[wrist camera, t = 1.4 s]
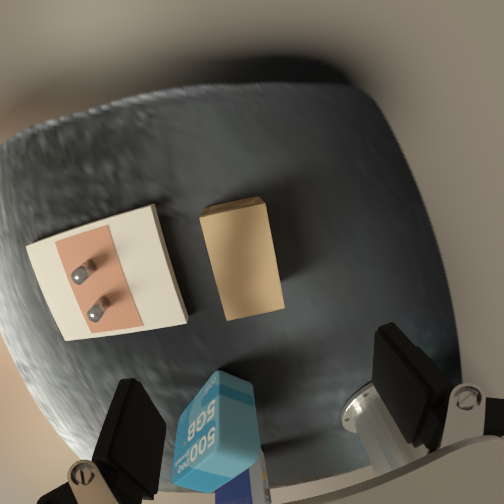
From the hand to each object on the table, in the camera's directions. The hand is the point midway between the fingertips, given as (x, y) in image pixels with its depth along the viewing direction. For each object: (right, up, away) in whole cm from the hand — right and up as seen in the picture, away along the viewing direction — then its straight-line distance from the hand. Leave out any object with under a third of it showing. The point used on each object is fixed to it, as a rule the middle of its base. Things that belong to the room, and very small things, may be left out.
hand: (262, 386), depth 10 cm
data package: (-5, -14, +23) cm, 28 cm away
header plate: (-16, +2, +17) cm, 24 cm away
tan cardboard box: (-1, +5, +17) cm, 18 cm away
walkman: (-2, -28, +28) cm, 39 cm away
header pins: (-16, +2, +16) cm, 22 cm away
